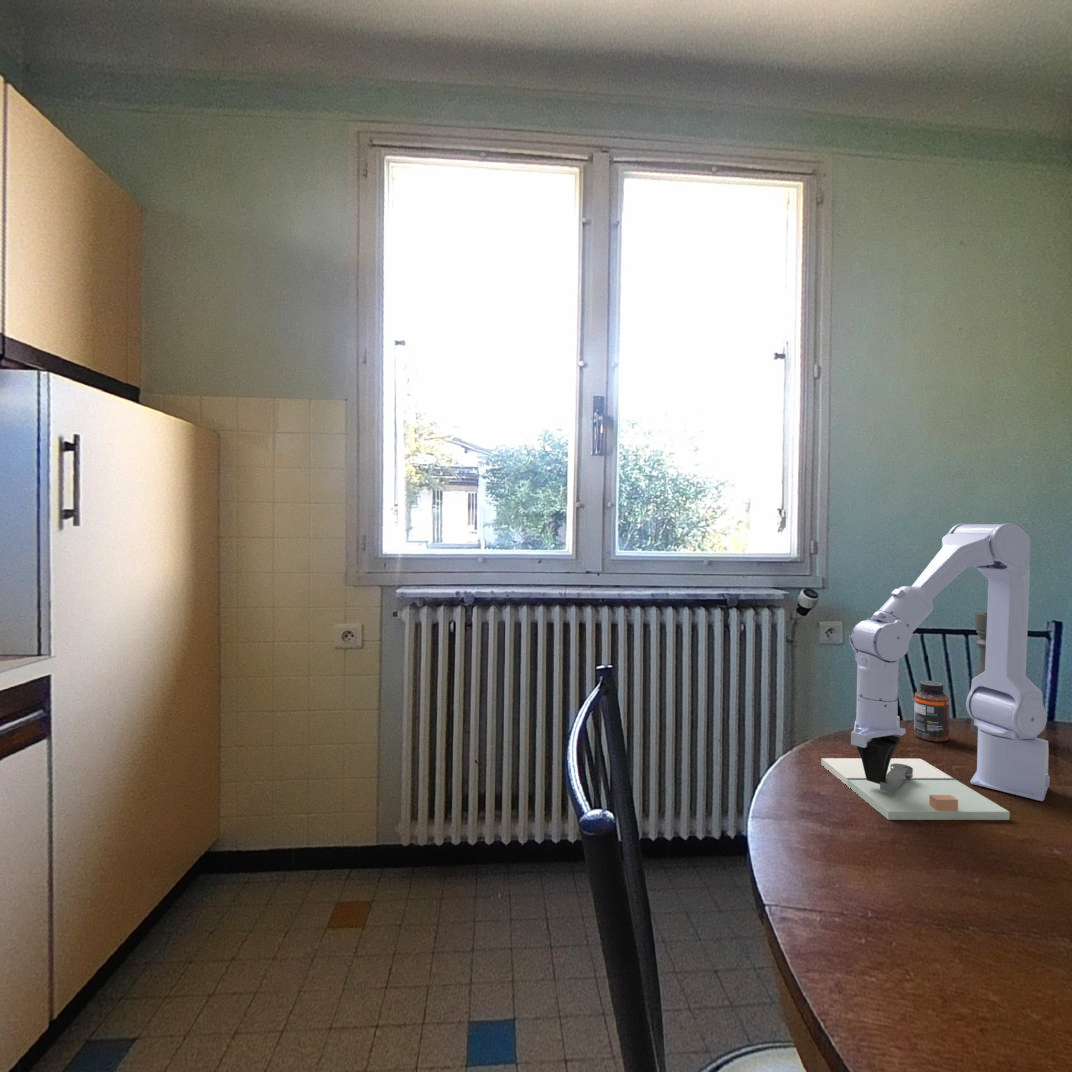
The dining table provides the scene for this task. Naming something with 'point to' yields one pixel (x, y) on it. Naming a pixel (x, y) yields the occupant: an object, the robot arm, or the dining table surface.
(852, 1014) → the dining table surface
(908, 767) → the bar
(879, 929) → the dining table surface
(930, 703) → the supplement bottle
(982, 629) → the candle holder
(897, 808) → the plate
